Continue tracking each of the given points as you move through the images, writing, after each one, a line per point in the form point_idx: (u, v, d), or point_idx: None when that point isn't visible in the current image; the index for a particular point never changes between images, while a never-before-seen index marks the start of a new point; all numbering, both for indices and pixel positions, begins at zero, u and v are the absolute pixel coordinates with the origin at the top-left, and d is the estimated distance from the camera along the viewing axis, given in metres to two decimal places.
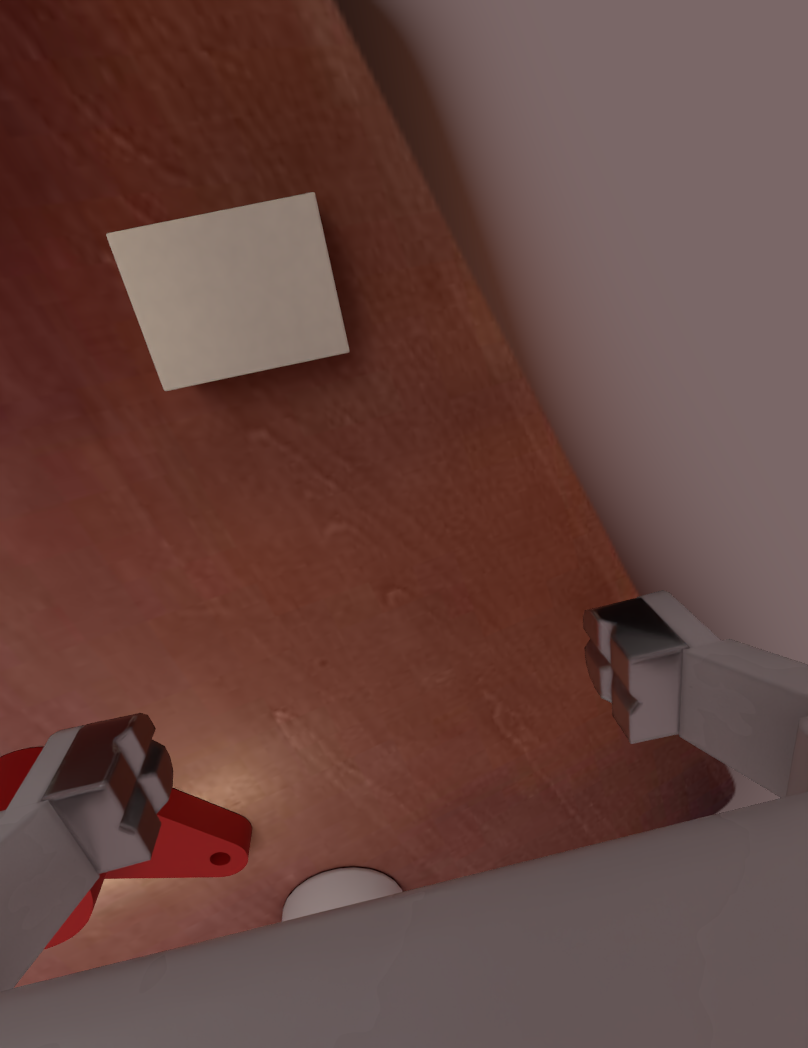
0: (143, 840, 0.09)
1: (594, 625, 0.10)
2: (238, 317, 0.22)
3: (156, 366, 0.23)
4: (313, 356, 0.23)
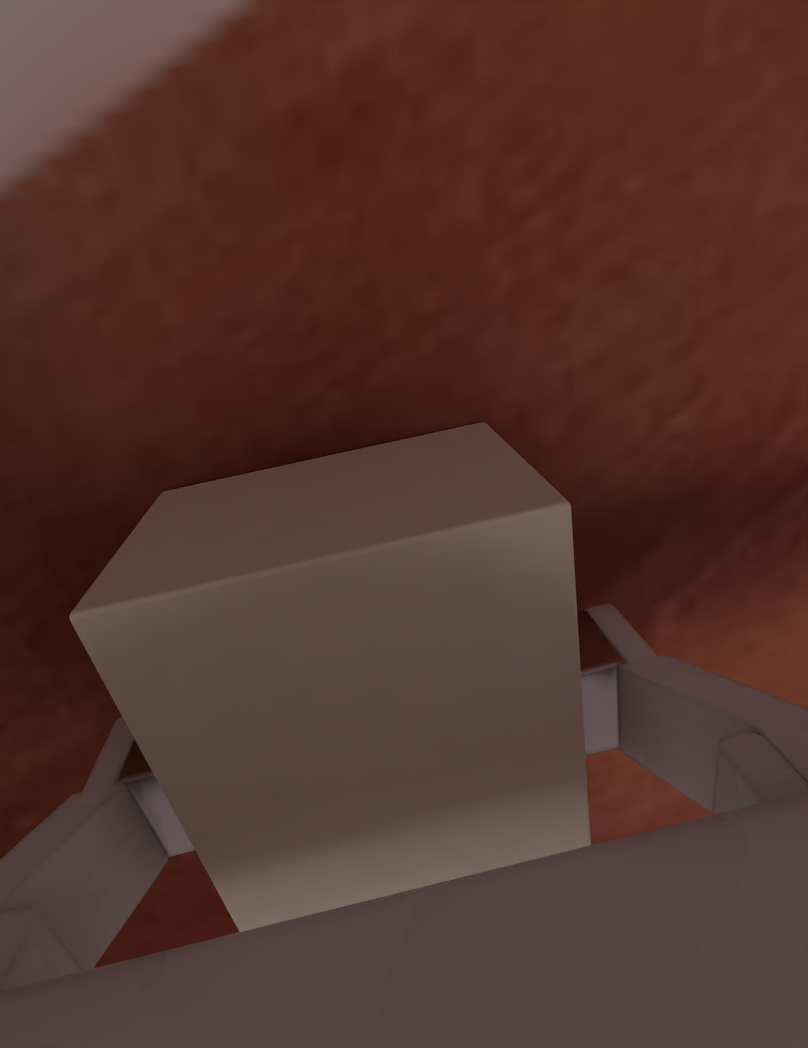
0: None
1: None
2: (441, 784, 0.08)
3: None
4: (567, 611, 0.07)
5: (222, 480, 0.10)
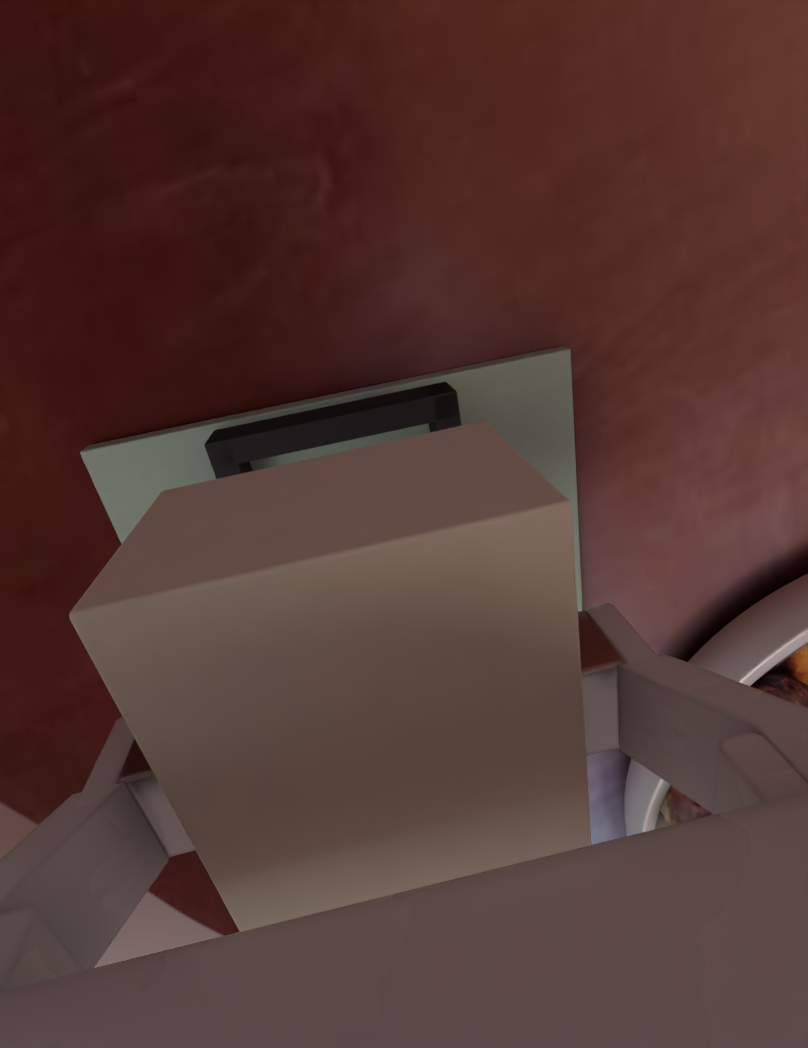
0: None
1: None
2: (441, 783, 0.08)
3: None
4: (568, 610, 0.07)
5: (222, 479, 0.10)
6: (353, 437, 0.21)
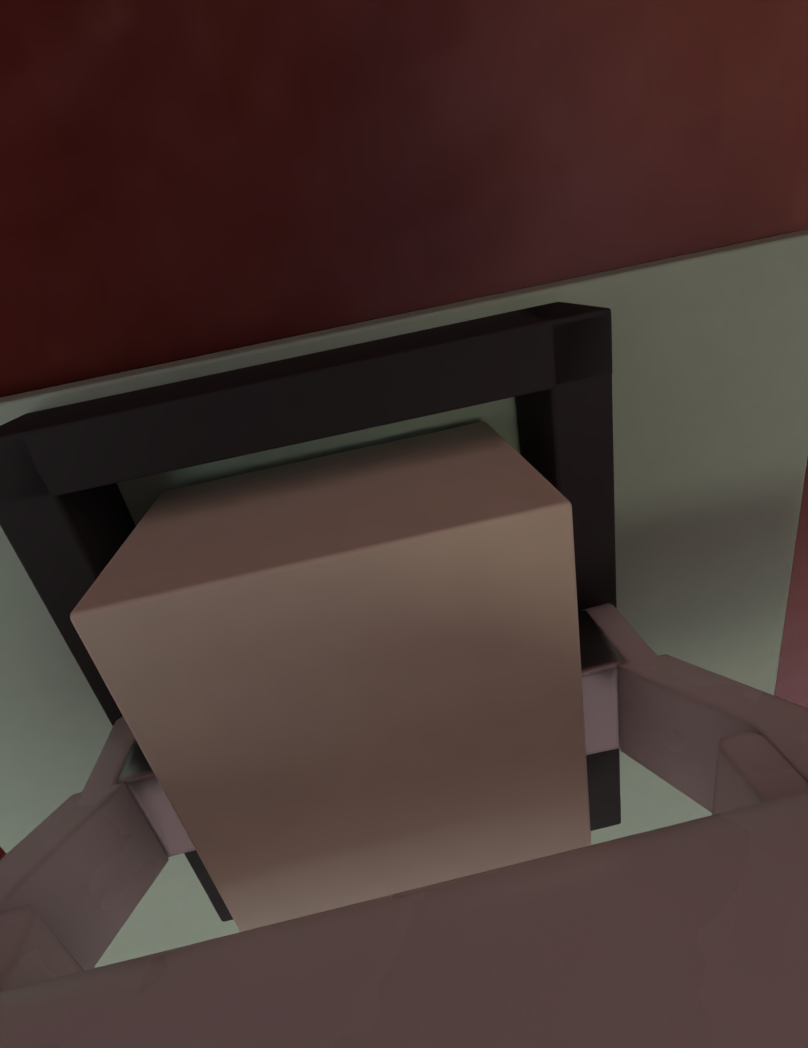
0: None
1: None
2: (442, 784, 0.08)
3: None
4: (568, 611, 0.07)
5: (222, 480, 0.10)
6: (347, 428, 0.08)
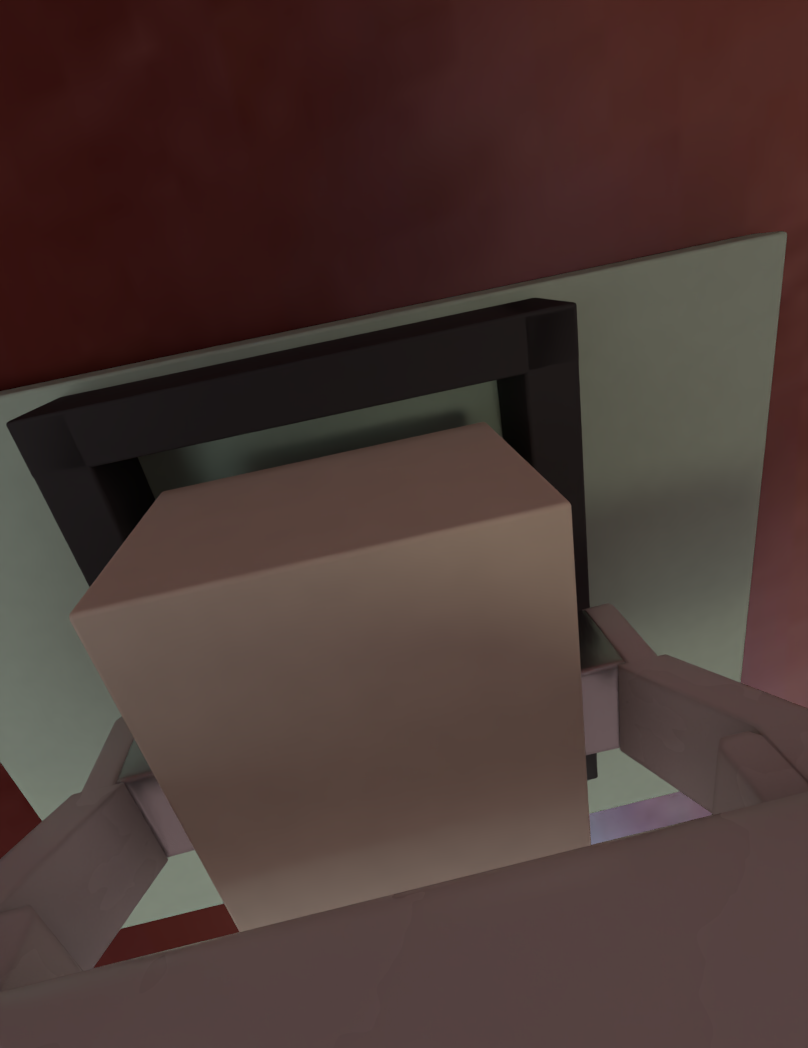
0: None
1: None
2: (441, 784, 0.08)
3: None
4: (567, 611, 0.07)
5: (222, 480, 0.10)
6: (346, 408, 0.09)
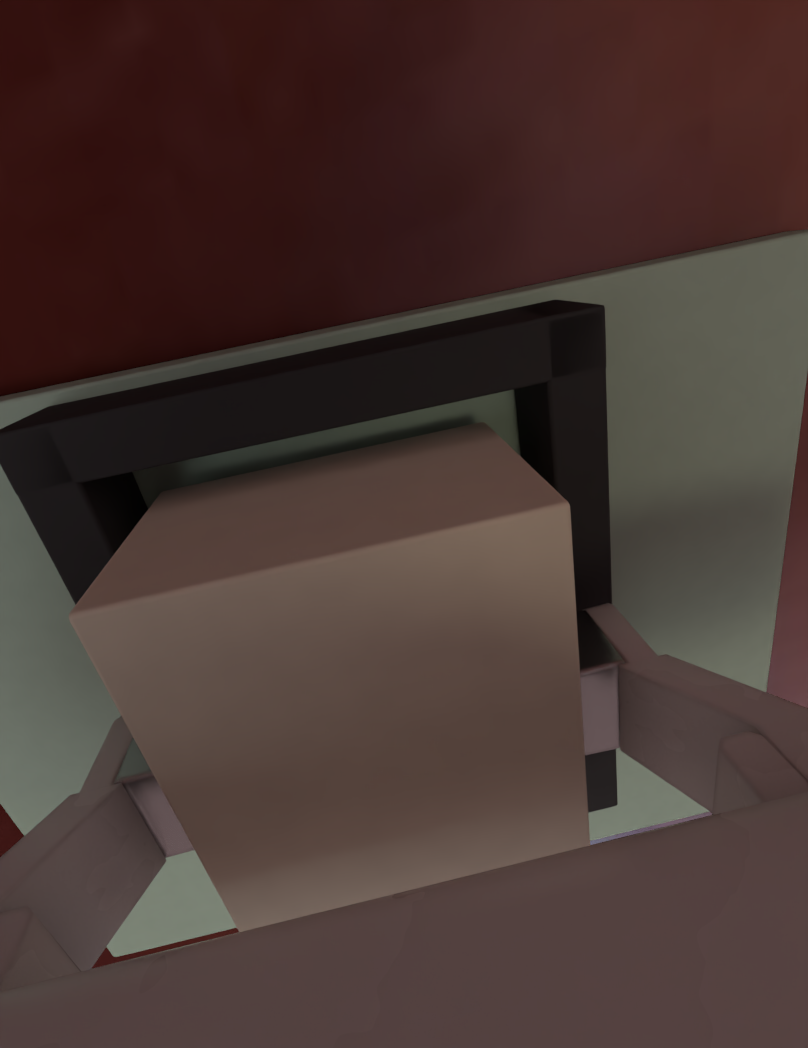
0: None
1: None
2: (440, 784, 0.08)
3: None
4: (566, 611, 0.07)
5: (222, 480, 0.10)
6: (354, 419, 0.09)
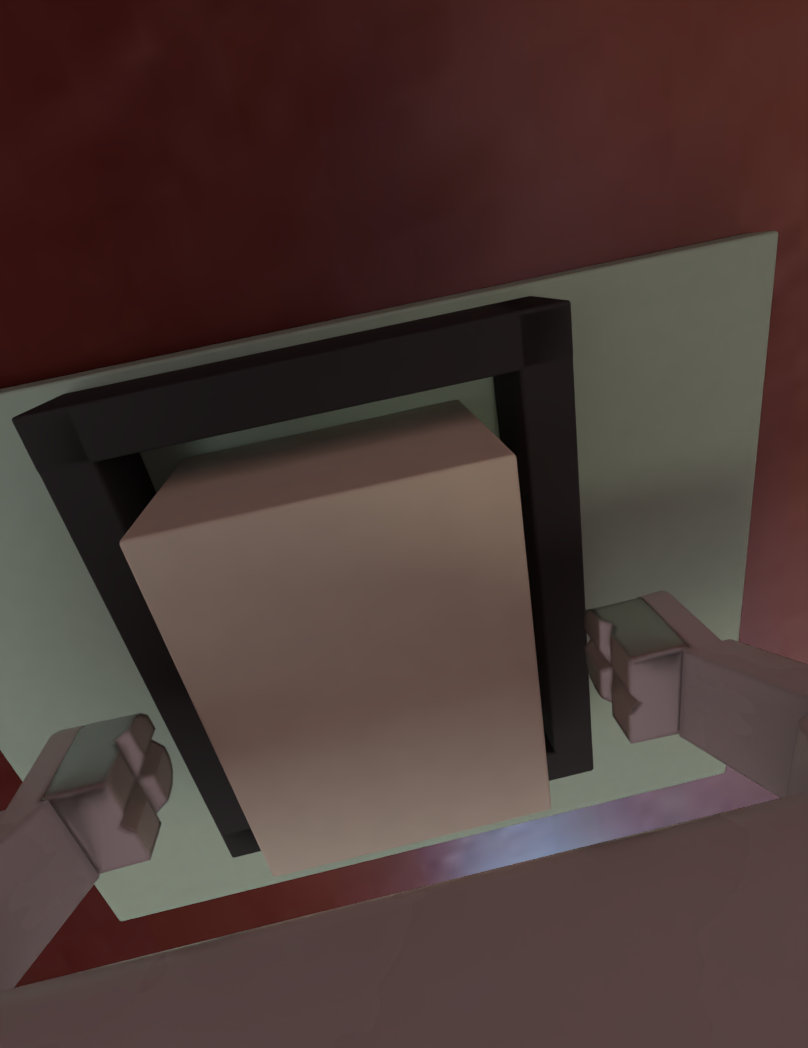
0: (143, 840, 0.09)
1: (594, 625, 0.10)
2: (417, 695, 0.10)
3: (504, 818, 0.12)
4: (517, 545, 0.09)
5: (234, 449, 0.11)
6: (344, 404, 0.10)
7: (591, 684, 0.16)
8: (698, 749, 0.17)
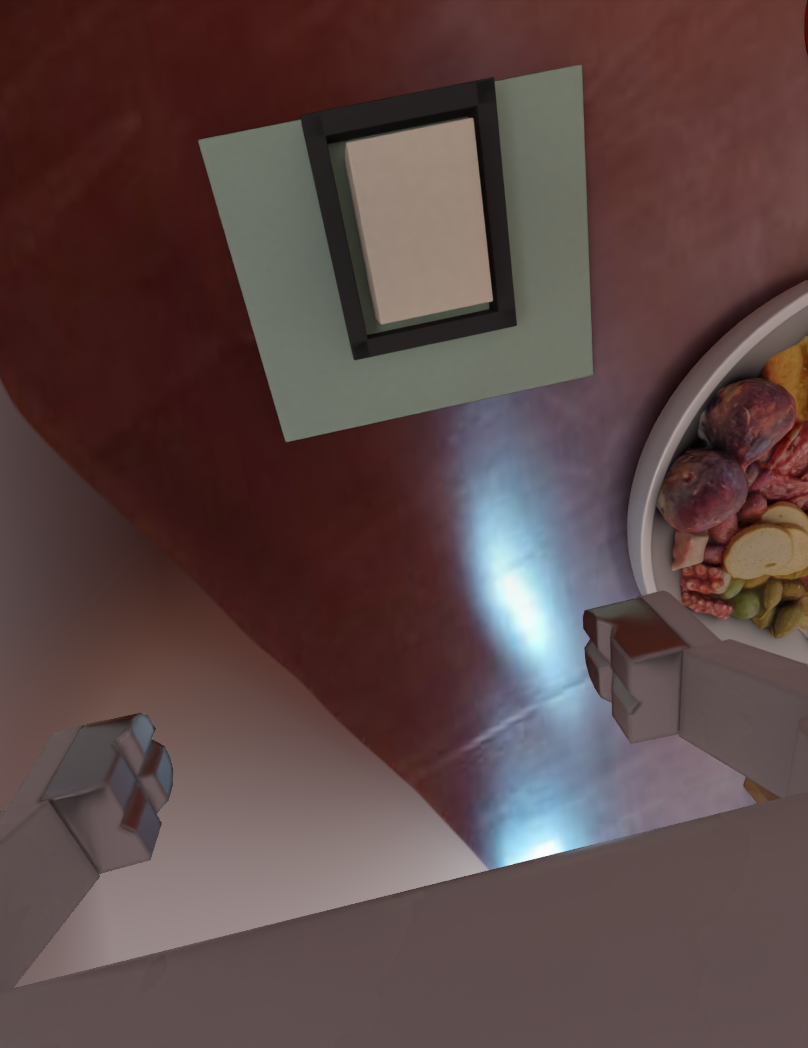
0: (143, 840, 0.09)
1: (594, 625, 0.10)
2: (440, 226, 0.27)
3: (473, 303, 0.29)
4: (474, 157, 0.26)
5: None
6: (414, 116, 0.27)
7: (519, 304, 0.33)
8: (576, 355, 0.35)
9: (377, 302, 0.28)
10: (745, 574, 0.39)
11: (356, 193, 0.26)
